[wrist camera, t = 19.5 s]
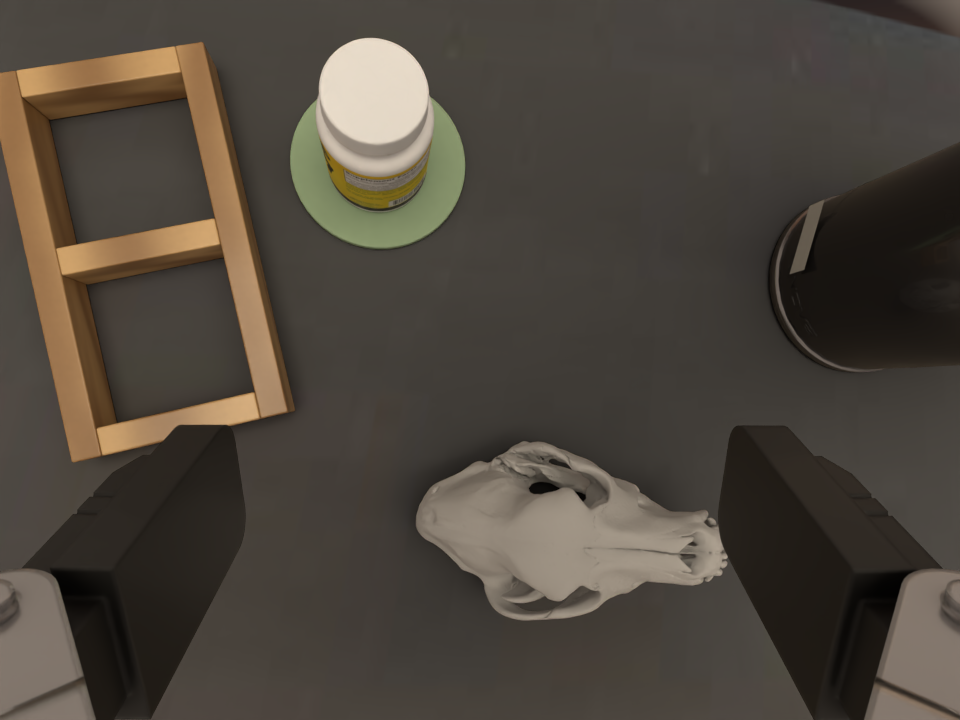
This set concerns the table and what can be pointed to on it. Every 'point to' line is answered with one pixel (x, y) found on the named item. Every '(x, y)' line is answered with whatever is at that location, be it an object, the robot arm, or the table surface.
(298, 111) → the table surface
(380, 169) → the supplement bottle
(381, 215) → the coaster
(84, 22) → the table surface
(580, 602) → the skull
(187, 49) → the rack
